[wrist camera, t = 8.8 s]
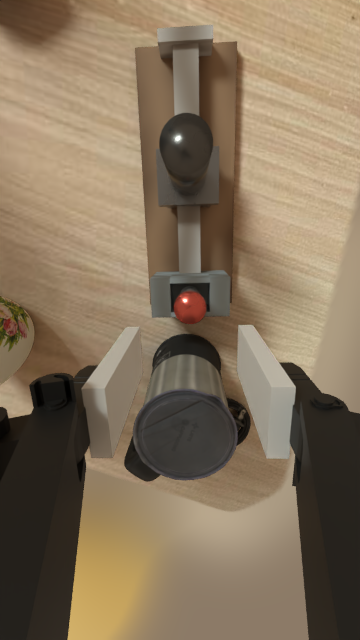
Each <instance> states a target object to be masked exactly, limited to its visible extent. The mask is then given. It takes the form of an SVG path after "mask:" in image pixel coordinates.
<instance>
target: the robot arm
mask: <svg viewBox="0 0 360 640" xmlns="http://www.w3.org/2000/svg"><path fill="white" fill-rule="evenodd" d="M237 373H238V376H239V379H240V382H241V385H242V388H243V391H244V394H245V397H246V399H247V402H248V405H249V408H250V411H251V414H252V417H253V420H254V423H255V426H256V429H257V432H258V435H259V438H260V441H261V444H262V447H263V450H264V453H265V456H266V459H289V455H290V444H291V446H292V449H293V451H294V453H295V464H294V474H293V484H292V486H296V494H297V505H298V517H299V529H300V541H301V552H302V564H303V576H304V588H305V599H306V611H307V622H308V634H309V640H360V414H359V413H354V412H350V411H349V410H348V408H347V406H346V404H345V403H344V402H343V401H341V400H340V399H338V398H336V397H334V396H331V395H329V394H324V393H321V391H320V390H319V389H318V388H317V387H316V386H315V384H314V383H313V382H312V381H311V380H310V378H309V377H308V376H307V375H306V373H305V372H304V371H303V370H302V369H301V368H300V367H299V366H297V365H295V364H293V363H279V362H278V361H277V359H276V358H275V356H274V355H273V353H272V352H271V351H270V349H269V348H268V346H267V345H266V343H265V342H264V341H263V339H262V338H261V336H260V335H259V333H258V332H257V330H256V329H255V328H254V326H253V325H238V351H237ZM142 374H143V362H142V348H141V334H140V327H126V328H125V329H124V331H123V332H122V333H121V335H120V336H119V337H118V339H117V340H116V342H115V343H114V344H113V346H112V347H111V349H110V350H109V351H108V353H107V354H106V355H105V357H104V358H103V360H102V361H101V362H100V364H99V365H97V366H87V367H85V368H84V369H82V370H80V371H79V372H78V373H77V375H76V376H75V378H73V376H71V375H70V374H66V373H55V374H50V375H46V376H43V377H40V378H38V379H36V380H35V381H33V382H32V383H31V384H30V385H29V386H30V391H31V396H32V401H33V406H34V409H33V411H32V413H31V414H29V415H25V416H19V417H14V418H8V414H7V410H6V409H5V408H3V407H0V640H67V638H68V629H69V620H70V610H71V601H72V592H73V582H74V574H75V564H76V555H77V545H78V537H79V526H80V517H81V508H82V499H83V490H84V481H85V472H86V462H85V453H86V451H87V449H88V447H89V445H90V452H91V458H113V456H114V453H115V450H116V447H117V444H118V442H119V439H120V436H121V433H122V430H123V428H124V425H125V422H126V419H127V416H128V414H129V411H130V408H131V405H132V402H133V400H134V397H135V394H136V391H137V388H138V385H139V383H140V380H141V377H142Z"/></svg>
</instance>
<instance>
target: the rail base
mask: <svg viewBox="0 0 360 640" xmlns="http://www.w3.org/2000/svg"><path fill="white" fill-rule="evenodd" d="M157 33H158V46H157V47H140V48H135V56H136V72H137V89H138V106H139V122H140V139H141V155H142V172H143V188H144V205H145V221H146V238H147V255H148V271H149V288H150V304H151V307H152V318H153V317H176V315H175V313H174V304H175V300H176V298H177V297H178V295H179V294H180V292H181V291H182V290H183V289H184V288H185V287H188V286H193V287H195V288H197V289H198V290H199V291H200V294H201V295H202V296H203V298H204V300H205V303H206V313H205V315H204V317H208V316H230V303H231V301H232V254H233V208H234V162H235V115H236V69H237V42H221V43H213V25H201V26H186V27H170V28H157ZM181 113H193V114H196V115H198V116H200V117H201V118H202V119H203V120H205V122H206V123H207V124H208V126H209V127H210V130H211V132H212V136H213V146H219V204H218V205H211V206H210V207H202V206H178V207H175V208H172V209H168V208H167V207H160V206H158V187H157V166H156V149H160V148H159V139H160V134H161V131H162V129H163V127H164V125H165V124H166V123H167V122H168V120H170V119H171V118H172V117H174V116H175V115H177V114H181Z"/></svg>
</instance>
